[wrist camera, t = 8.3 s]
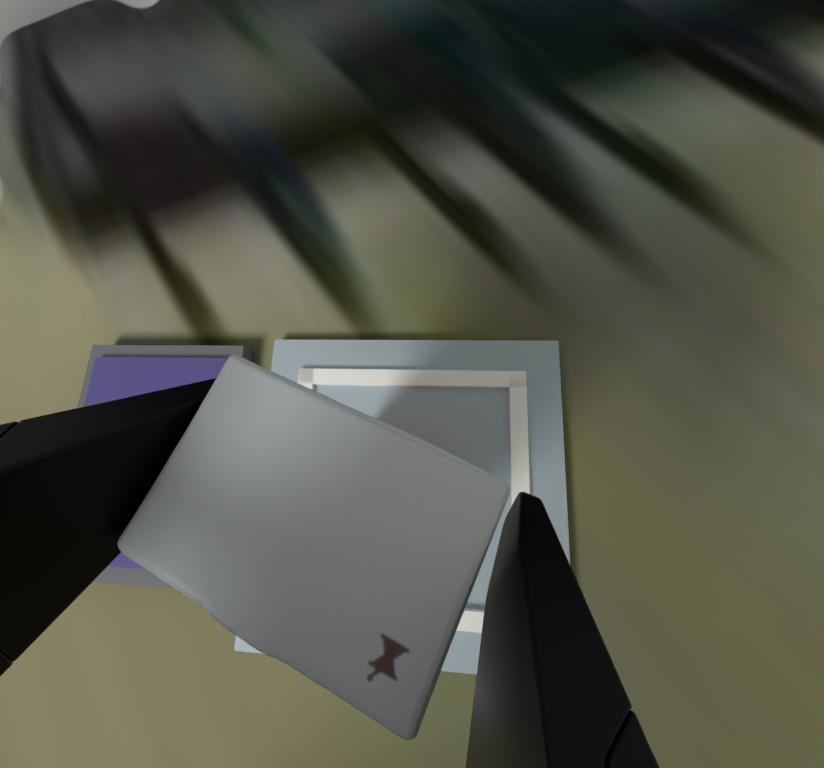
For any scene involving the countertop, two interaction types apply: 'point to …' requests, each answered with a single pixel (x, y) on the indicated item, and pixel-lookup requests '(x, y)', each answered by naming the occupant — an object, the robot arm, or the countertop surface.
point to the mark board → (454, 422)
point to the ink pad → (138, 374)
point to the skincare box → (321, 537)
